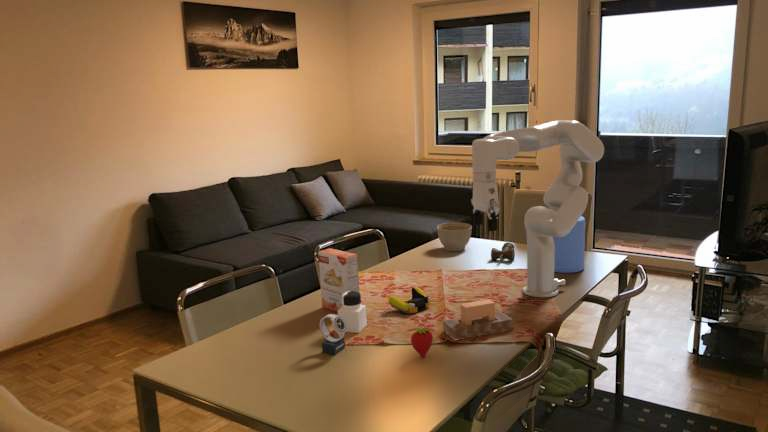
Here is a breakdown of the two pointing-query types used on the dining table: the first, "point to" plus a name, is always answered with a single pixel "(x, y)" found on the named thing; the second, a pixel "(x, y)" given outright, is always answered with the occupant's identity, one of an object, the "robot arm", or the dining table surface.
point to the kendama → (504, 252)
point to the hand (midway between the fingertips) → (485, 227)
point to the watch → (333, 343)
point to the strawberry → (422, 340)
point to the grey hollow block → (478, 326)
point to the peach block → (477, 311)
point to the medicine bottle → (353, 312)
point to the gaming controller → (411, 302)
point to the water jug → (570, 249)
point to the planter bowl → (454, 235)
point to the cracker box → (337, 276)
